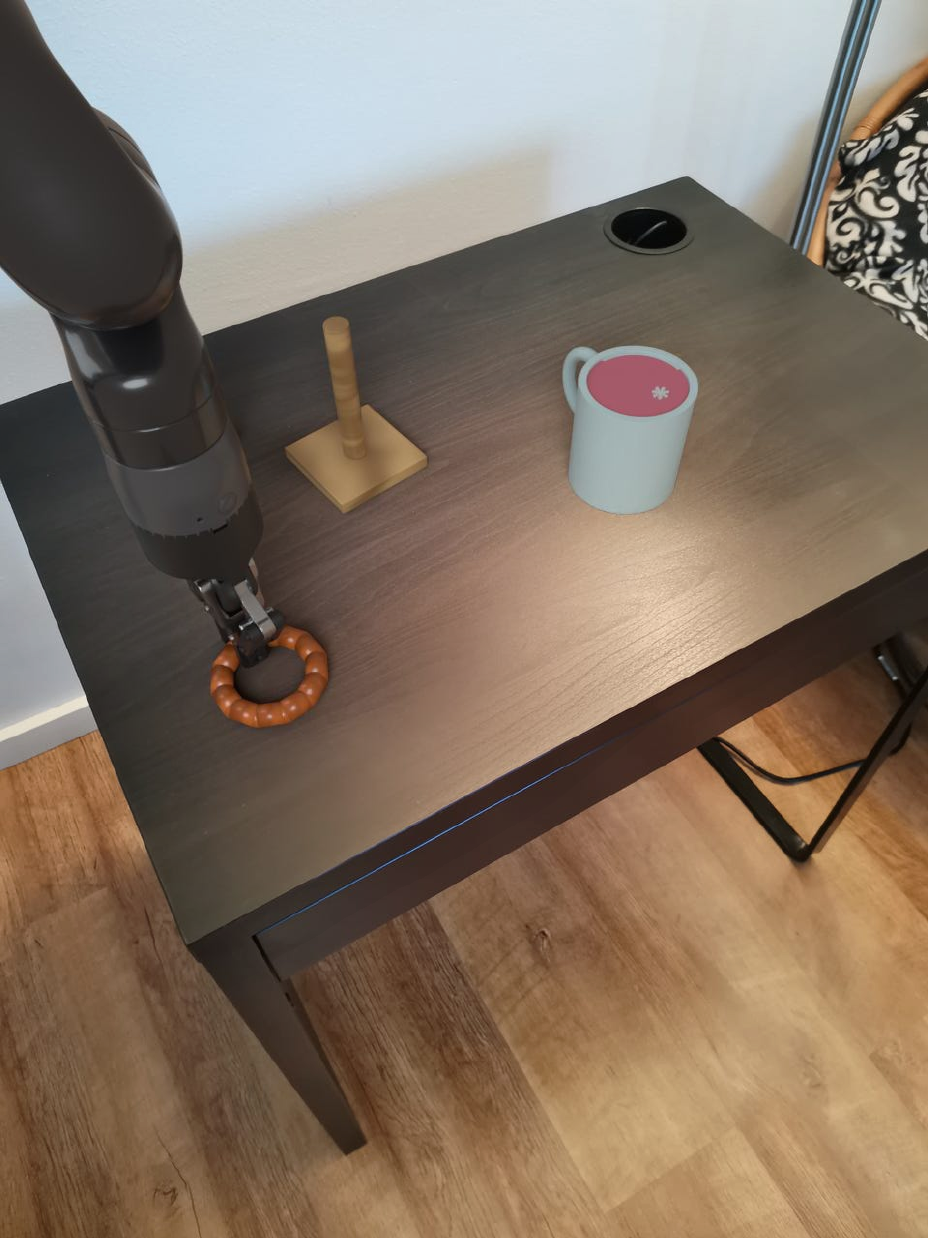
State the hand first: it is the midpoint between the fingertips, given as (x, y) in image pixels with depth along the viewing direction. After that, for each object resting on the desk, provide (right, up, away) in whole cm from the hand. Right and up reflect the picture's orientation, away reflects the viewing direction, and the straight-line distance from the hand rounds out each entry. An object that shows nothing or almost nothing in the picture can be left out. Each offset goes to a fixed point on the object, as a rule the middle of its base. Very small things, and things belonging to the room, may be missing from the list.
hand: (247, 648), depth 66 cm
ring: (+2, -2, -2) cm, 3 cm away
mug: (+29, +16, +12) cm, 35 cm away
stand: (+7, +16, +12) cm, 21 cm away
